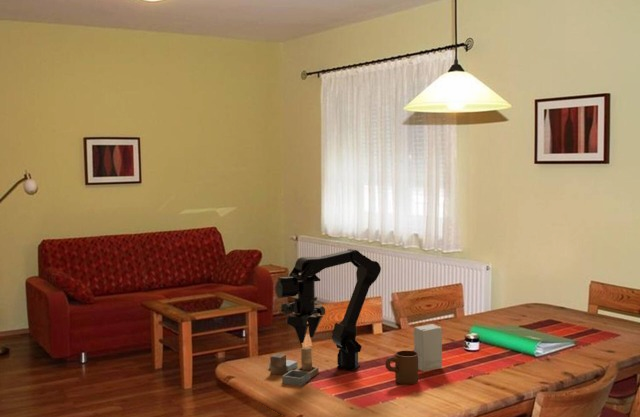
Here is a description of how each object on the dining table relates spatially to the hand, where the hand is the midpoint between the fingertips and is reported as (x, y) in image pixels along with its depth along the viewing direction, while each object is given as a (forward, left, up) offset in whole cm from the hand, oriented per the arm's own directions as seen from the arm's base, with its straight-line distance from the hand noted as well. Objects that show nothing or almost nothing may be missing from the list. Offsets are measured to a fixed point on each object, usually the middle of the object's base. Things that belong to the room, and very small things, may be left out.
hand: (306, 340), depth 234 cm
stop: (+10, +2, -12) cm, 16 cm away
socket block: (0, 0, -12) cm, 12 cm away
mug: (-32, -5, -12) cm, 35 cm away
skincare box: (-36, -23, -12) cm, 44 cm away
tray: (0, +8, -12) cm, 14 cm away
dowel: (0, 0, -12) cm, 12 cm away
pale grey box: (+11, -3, -12) cm, 17 cm away
